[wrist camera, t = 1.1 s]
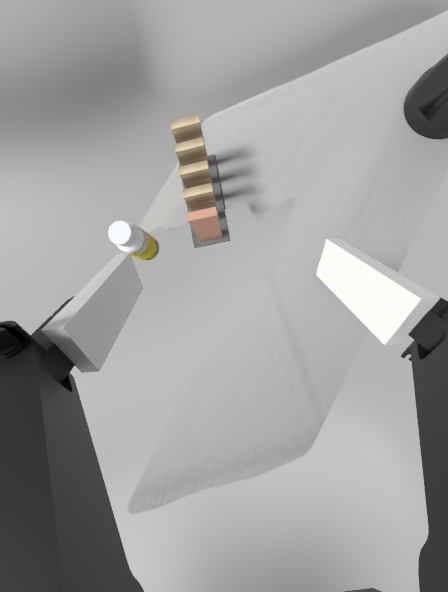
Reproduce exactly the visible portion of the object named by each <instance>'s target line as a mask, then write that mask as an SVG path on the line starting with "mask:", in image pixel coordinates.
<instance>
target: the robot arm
mask: <svg viewBox="0 0 448 592" xmlns="http://www.w3.org/2000/svg"><path fill="white" fill-rule="evenodd" d="M404 113H405V117H406V120H407V122H408V123H409V125H410V126H411V127H412V128H413V129H414V130H415V131H416V132H417V133H419V134H421V135H423V136H426V137H429V138H437V139H439V138H447V137H448V54H447V55H446V56H445V57H443V58H442V59H441V60H440V61H439V62H438V63H437V64H435V65H434V66H433V67H432V68H430V69H429V70H428V71H426V72H425V73H424V74H423V75H422V76H421V77H420V78H419V80H418V81H417V82H416V83H415V84H414V86H413V87H412V88H411V89H410V91H409V92H408V94H407V96H406V99H405V103H404ZM316 275H317V276H318V277H319V278H320V279H321V280H322V281H323V282H324V283H325V284H326V285H327V286H328V288H329V289H330V290H331V291H332V292H333V293H334V294H335V295H336V296H337V297H338V298H339V299H340V300H341V301H342V302H343V303H344V304H345V305H346V306H347V307H348V308H349V309H350V310H351V311H352V312H353V313H354V314H355V315H356V316H357V317H358V318H359V319H360V321H361V322H362V323H363V324H364V325H365V326H366V327H367V328H368V329H369V330H370V331H371V332H372V333H373V334H374V335H375V336H376V337H377V338H378V339H379V340H380V341H381V342H382V343H383V344H384V345H396V344H401V343H402V342H403V341H404V340H405V338H406V337H407V336H408V335H409V336H411V337H412V338H413V339H414V341H413V343H412V344H411V345H410V346H409V347H408V348H407V349H406V350H405V351H404V352H403V353H402V356H401V357H403V358H405V356H407V355H408V354H411V357H410V358H409V360H410V361H412V368H413V378H414V388H415V397H416V407H417V417H418V426H419V436H420V446H421V456H422V466H423V476H424V486H425V495H426V505H427V515H428V525H429V534H428V539H427V541H426V543H425V544H424V546H423V547H422V549H421V552H420V556H419V585H420V586H419V587H420V592H448V302H447V301H446V300H444V299H442V298H441V297H440V296H438V295H436V294H434V293H432V292H431V291H429V290H427V289H426V288H424V287H422V286H420V285H419V284H417V283H415V282H413V281H412V280H410V279H408V278H406V277H405V276H403V275H401V274H400V273H398V272H396V271H394V270H393V269H391V268H389V267H387V266H386V265H384V264H382V263H380V262H379V261H377V260H375V259H373V258H372V257H370V256H368V255H366V254H365V253H363V252H361V251H360V250H358V249H356V248H354V247H353V246H351V245H349V244H347V243H346V242H344V241H342V240H340V239H339V238H332V239H327V240H326V243H325V246H324V250H323V253H322V256H321V259H320V263H319V266H318V269H317V273H316ZM142 289H143V286H142V284H141V281H140V278H139V276H138V273H137V271H136V268H135V265H134V263H133V260H132V258H131V255H130V253H122V254H117V255H116V256H115V257H114V258H113V259H112V260H111V261H110V262H109V263H108V264H107V265H106V266H105V267H104V268H103V269H102V270H101V271H100V272H99V273H98V274H97V275H96V276H95V277H94V278H93V279H92V280H91V281H90V282H89V283H88V284H87V285H86V286H85V287H84V288H83V289H82V290H81V291H80V292H79V293H78V294H77V295H76V296H74V297H72V298H71V299H69V300H67V301H66V302H65V303H64V304H63V305H62V306H61V307H60V308H59V310H57V311H56V312H55V313H54V314H53V316H50V318H48V319H47V320H46V321H45V322H44V323H43V324H42V325H41V326H40V327H39V328H38V329H37V330H36V331H35V332H34V333H33V334H32V335H31V336H30V335H29V334H28V333H27V332H26V331H25V330H24V329H22V327H21V326H19V325H18V324H17V323H16V322H14V321H6V322H0V592H144V591H143V589H142V587H141V585H140V584H139V582H138V581H137V580H136V579H135V577H134V576H133V575H132V573H131V571H130V568H129V565H128V563H127V559H126V556H125V552H124V549H123V545H122V542H121V539H120V535H119V532H118V528H117V525H116V521H115V518H114V514H113V511H112V507H111V504H110V501H109V497H108V494H107V490H106V487H105V483H104V480H103V477H102V473H101V470H100V466H99V463H98V459H97V456H96V453H95V449H94V446H93V442H92V439H91V435H90V432H89V428H88V425H87V422H86V418H85V415H84V411H83V408H82V405H81V401H80V397H79V394H78V390H77V387H76V383H75V380H74V377H73V376H72V375H71V374H70V371H71V370H72V368H73V367H74V365H75V366H76V367H77V368H78V369H79V370H80V371H81V372H82V373H84V372H94V371H100V369H101V367H102V365H103V363H104V361H105V359H106V358H107V356H108V354H109V352H110V350H111V348H112V346H113V344H114V342H115V340H116V338H117V337H118V335H119V333H120V331H121V329H122V327H123V325H124V323H125V321H126V319H127V318H128V316H129V314H130V312H131V310H132V308H133V306H134V304H135V302H136V301H137V299H138V297H139V295H140V293H141V291H142ZM346 592H381V591H379V590H376V589H374V588H370V589H361V590H354V591H346Z"/></svg>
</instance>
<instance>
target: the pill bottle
mask: <svg viewBox="0 0 448 592" xmlns="http://www.w3.org/2000/svg"><path fill="white" fill-rule="evenodd" d="M108 234H109V238H110V240H111V241H112V242H113V243H115V244H116V245H117V246H118V248H119V249H121V250H122V251H124V252H126V253H130V254H131V255H133V256H135V257H138V258H140V259H143V260H151V259H153V258H155V257H156V255H157V254H158V252H159V245H158V242H157V241H156V240H155V239H154V238H153V237H152V236H150V235H149V234H148V233H147V232H145V231H144V230H142V229H141V228H140V227H138V226H137V225H135V224H130V223H126V222H124V221H116V222H114V223H113V224H112V225H111V226H110V228H109V231H108Z"/></svg>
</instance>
